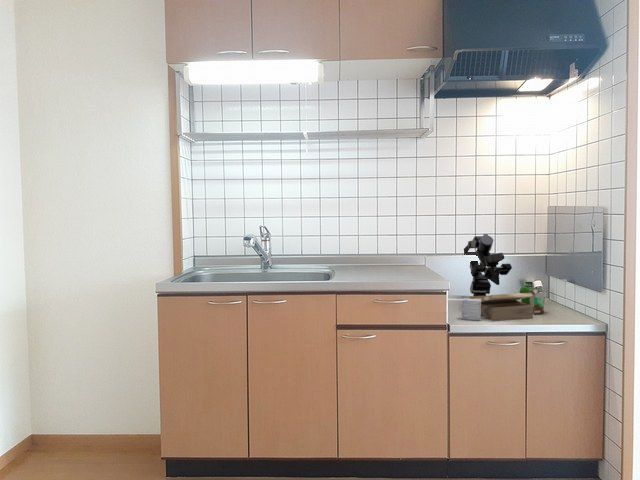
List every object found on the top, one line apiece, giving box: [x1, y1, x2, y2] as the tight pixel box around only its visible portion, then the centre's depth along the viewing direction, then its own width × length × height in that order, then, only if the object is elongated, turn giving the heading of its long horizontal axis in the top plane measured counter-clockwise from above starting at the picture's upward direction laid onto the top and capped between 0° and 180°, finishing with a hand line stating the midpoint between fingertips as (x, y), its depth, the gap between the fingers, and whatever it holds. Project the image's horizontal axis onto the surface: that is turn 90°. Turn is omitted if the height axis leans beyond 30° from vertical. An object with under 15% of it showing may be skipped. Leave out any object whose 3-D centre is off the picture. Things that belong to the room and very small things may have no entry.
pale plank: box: [480, 292, 532, 303], centre depth 231 cm, size 12×20×2 cm, turn 104°
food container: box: [529, 288, 548, 315], centre depth 239 cm, size 12×6×10 cm, turn 168°
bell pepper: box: [519, 283, 537, 305], centre depth 259 cm, size 8×8×10 cm
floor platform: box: [468, 294, 534, 322], centre depth 235 cm, size 20×20×7 cm
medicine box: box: [461, 298, 482, 321], centre depth 226 cm, size 8×4×9 cm, turn 71°
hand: (498, 284), depth 235 cm, fingers closed
